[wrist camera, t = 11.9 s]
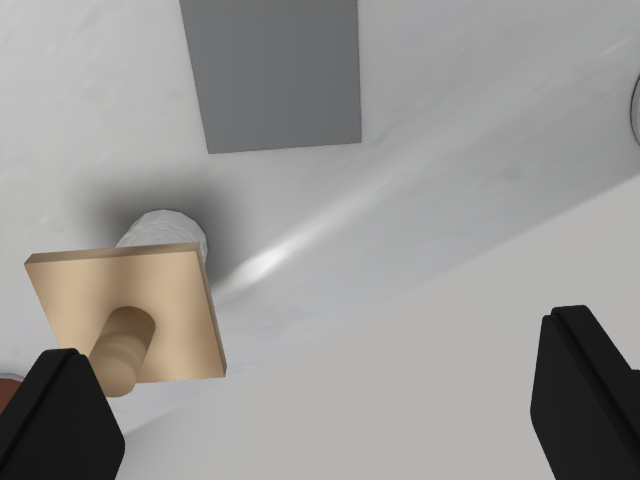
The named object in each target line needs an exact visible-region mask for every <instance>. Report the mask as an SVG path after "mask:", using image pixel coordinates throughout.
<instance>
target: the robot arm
mask: <svg viewBox="0 0 640 480" xmlns="http://www.w3.org/2000/svg"><path fill="white" fill-rule="evenodd" d="M631 118H632V126H633V131H634V133H635V136H636V139H637V141H638V143H639V144H640V79H639V81H638V84H637V87H636V90H635V94H634V97H633V101H632V112H631ZM530 414H531V420H532V424H533V427H534V429H535V432H536V434H537V437H538V439H539V441H540V444H541V446H542V448H543V450H544V453H545V455H546V458H547V460H548V462H549V465H550V467H551V469H552V472H553V474H554V477H555V479H556V480H640V370H632V369H631V368H630V366H629V365H628V363H627V362H626V361H625V359H624V358H623V356H622V355H621V354H620V352H619V351H618V349H617V348H616V347H615V346H614V344H613V342H612V341H611V339H610V338H609V337H608V335H607V334H606V332H605V331H604V330H603V328H602V327H601V325H600V324H599V322H598V321H597V319H596V318H595V317H594V315H593V314H592V312H591V311H590V310H589V308H588V307H587V306H585V305H575V306H563V307H555V308H553V309H552V311H551V315H545V316H544V317H543V319H542V325H541V332H540V340H539V347H538V355H537V362H536V370H535V377H534V385H533V392H532V400H531V407H530ZM124 452H125V440H124V437H123V435H122V433H121V430H120V428H119V426H118V424H117V422H116V419H115V417H114V415H113V413H112V411H111V408H110V406H109V404H108V402H107V399H106V397H105V395H104V393H103V391H102V388H101V386H100V384H99V382H98V380H97V377H96V375H95V373H94V371H93V368H92V366H91V364H90V362H89V360H88V358H87V356H86V355H84V354H80V353H79V351H78V350H77V349H75V348H63V349H51V350H46V351H44V352H42V354H41V355H40V356H39V357H38V359H37V360H36V362H35V363H34V365H33V366H32V368H31V369H30V371H29V372H28V374H27V375H26V377H25V378H24V380H23V381H22V383H21V384H20V386H19V387H18V389H17V390H16V392H15V393H14V395H13V396H12V398H11V399H10V401H9V402H8V404H7V405H6V407H5V408H4V410H3V412H2V413H1V415H0V480H115V478H116V475H117V472H118V470H119V467H120V464H121V462H122V459H123V456H124Z"/></svg>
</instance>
